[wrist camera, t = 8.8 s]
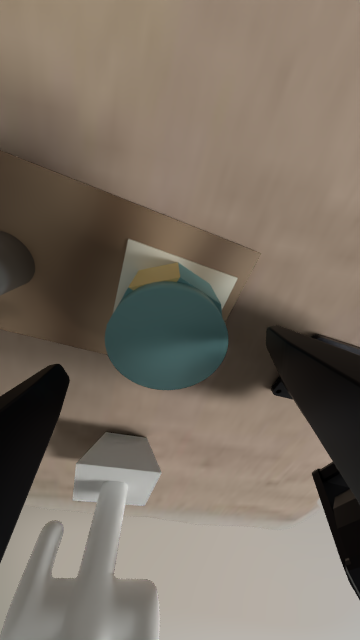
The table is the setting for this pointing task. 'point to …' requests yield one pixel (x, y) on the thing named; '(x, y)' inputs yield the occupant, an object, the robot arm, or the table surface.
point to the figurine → (92, 558)
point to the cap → (167, 329)
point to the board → (92, 255)
